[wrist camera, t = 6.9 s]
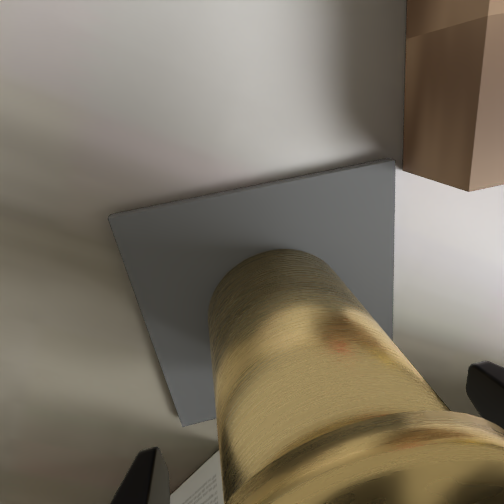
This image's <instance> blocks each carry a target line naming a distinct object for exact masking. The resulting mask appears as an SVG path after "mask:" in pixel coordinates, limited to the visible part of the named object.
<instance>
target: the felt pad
mask: <svg viewBox="0 0 504 504" xmlns="http://www.w3.org/2000/svg"><path fill="white" fill-rule="evenodd" d="M394 214H395V160H393V159H390V158H387V159H383V160H378V161H373V162H368V163H363V164H358V165H353V166H348V167H343V168H338V169H333V170H328V171H323V172H318V173H313V174H308V175H303V176H298V177H293V178H288V179H284V180H279V181H274V182H269V183H264V184H259V185H254V186H249V187H244V188H239V189H234V190H229V191H224V192H219V193H214V194H209V195H204V196H199V197H194V198H189V199H185V200H180V201H175V202H170V203H165V204H160V205H155V206H150V207H145V208H140V209H135V210H130V211H125V212H120V213H115V214H111V215H110V216H109V218H108V220H109V223H110V226H111V229H112V231H113V234H114V237H115V240H116V243H117V245H118V248H119V251H120V254H121V257H122V259H123V262H124V265H125V268H126V271H127V273H128V276H129V279H130V282H131V285H132V287H133V290H134V293H135V296H136V299H137V301H138V304H139V307H140V310H141V312H142V315H143V318H144V321H145V324H146V326H147V329H148V332H149V335H150V338H151V340H152V343H153V346H154V349H155V352H156V354H157V357H158V360H159V363H160V366H161V368H162V371H163V374H164V377H165V380H166V382H167V385H168V388H169V391H170V393H171V396H172V399H173V402H174V405H175V407H176V410H177V413H178V416H179V419H180V421H181V424H182V427H184V426H188V425H192V424H196V423H200V422H204V421H208V420H212V419H215V418H216V407H215V396H214V384H213V373H212V361H211V350H210V338H209V327H208V308H209V303H210V300H211V297H212V294H213V292H214V290H215V288H216V287H217V285H218V284H219V282H220V281H221V279H222V278H223V277H224V276H225V275H226V274H227V273H228V272H229V271H230V270H231V269H232V268H233V267H235V266H236V265H237V264H239V263H240V262H242V261H244V260H245V259H247V258H249V257H251V256H254V255H256V254H259V253H262V252H266V251H270V250H277V249H293V250H300V251H304V252H307V253H310V254H312V255H315V256H317V257H318V258H320V259H322V260H323V261H324V262H326V263H327V264H328V265H329V266H330V267H331V268H332V269H333V270H334V272H335V273H336V274H337V275H338V276H339V278H340V279H341V280H342V281H343V282H344V284H345V285H346V286H347V287H348V288H349V290H350V291H351V292H352V293H353V294H354V296H355V297H356V298H357V299H358V300H359V302H360V303H361V304H362V305H363V306H364V308H365V309H366V310H367V311H368V312H369V314H370V315H371V316H372V317H373V318H374V320H375V321H376V322H377V323H378V324H379V326H380V327H381V328H382V329H383V330H384V332H385V333H386V334H387V335H388V336H389V338H390V339H391V340H392V338H393V276H394Z"/></svg>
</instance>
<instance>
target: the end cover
mask: <svg viewBox="0 0 504 504" xmlns="http://www.w3.org/2000/svg"><path fill="white" fill-rule="evenodd" d="M208 327H209V338H210V350H211V361H212V373H213V384H214V396H215V407H216V419H217V430H218V442H219V453H220V465H221V476H222V488H223V500H224V504H504V429H502V428H501V427H500V426H498V425H497V424H495V423H493V422H490V421H488V420H486V419H484V418H481V417H478V416H474V415H470V414H467V413H460V412H452V411H450V410H449V408H448V407H447V406H446V405H445V404H444V402H443V401H442V400H441V399H440V398H439V396H438V395H437V394H436V393H435V392H434V390H433V389H432V388H431V387H430V386H429V384H428V383H427V382H426V381H425V380H424V378H423V377H422V376H421V375H420V374H419V372H418V371H417V370H416V369H415V368H414V366H413V365H412V364H411V363H410V362H409V360H408V359H407V358H406V357H405V356H404V354H403V353H402V352H401V351H400V350H399V348H398V347H397V346H396V345H395V344H394V342H393V341H392V340H391V339H390V338H389V336H388V335H387V334H386V333H385V332H384V330H383V329H382V328H381V327H380V326H379V324H378V323H377V322H376V321H375V320H374V318H373V317H372V316H371V315H370V314H369V312H368V311H367V310H366V309H365V308H364V306H363V305H362V304H361V303H360V302H359V300H358V299H357V298H356V297H355V296H354V294H353V293H352V292H351V291H350V290H349V288H348V287H347V286H346V285H345V284H344V282H343V281H342V280H341V279H340V278H339V276H338V275H337V274H336V273H335V272H334V270H333V269H332V268H331V267H330V266H329V265H328V264H327V263H326V262H324V261H323V260H322V259H320V258H318V257H317V256H315V255H312V254H310V253H307V252H304V251H300V250H293V249H277V250H270V251H266V252H262V253H259V254H256V255H254V256H251V257H249V258H247V259H245V260H244V261H242V262H240V263H239V264H237V265H236V266H235V267H233V268H232V269H231V270H230V271H229V272H228V273H227V274H226V275H225V276H224V277H223V278H222V279H221V281H220V282H219V284H218V285H217V287H216V288H215V290H214V292H213V294H212V297H211V300H210V303H209V308H208Z"/></svg>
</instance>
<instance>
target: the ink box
mask: <svg viewBox="0 0 504 504" xmlns="http://www.w3.org/2000/svg"><path fill="white" fill-rule="evenodd" d="M170 504H224V500H223V488H222V476H221V465H220V453H219V450H218V451H217V452H216V453H215V454H214V455H213V456H212V457H211V458H210V459H208V460H207V461H206V462H205V463H204V464H203V465H202V466H201V467H200V468H199V469H198V470H197V471H196V472H195V473H194V474H193V475H191V476H190V477H189V478H188V479H187V480H186V481H185V482H184V483H183V484H182V485H181V486H180V487H179V488H178V489H177V490H176V491H175V492H173V493H172V494H171V495H170Z"/></svg>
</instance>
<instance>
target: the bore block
mask: <svg viewBox="0 0 504 504" xmlns="http://www.w3.org/2000/svg"><path fill="white" fill-rule="evenodd" d="M403 171H406V172H409V173H412V174H415V175H418V176H421V177H424V178H427V179H431V180H434V181H437V182H440V183H443V184H446V185H449V186H452V187H455V188H458V189H461V190H465V191H468V192H470V191H475V190H480V189H484V188H489V187H493V186H498V185H503V184H504V0H407V19H406V59H405V98H404V138H403Z"/></svg>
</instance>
